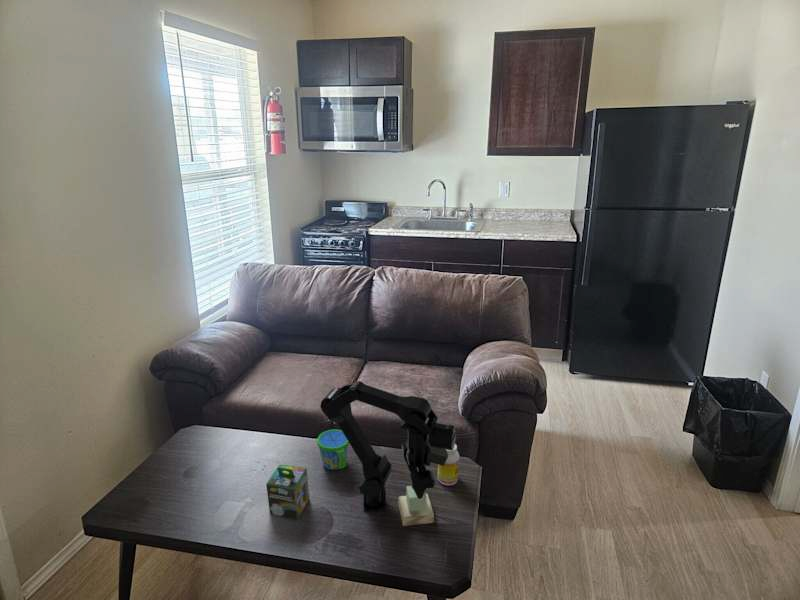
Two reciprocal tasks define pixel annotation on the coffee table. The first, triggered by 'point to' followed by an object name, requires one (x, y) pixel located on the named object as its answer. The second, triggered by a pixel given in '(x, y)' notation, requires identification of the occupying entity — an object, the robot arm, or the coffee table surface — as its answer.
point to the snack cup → (333, 449)
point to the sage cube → (414, 500)
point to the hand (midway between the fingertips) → (416, 487)
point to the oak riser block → (415, 513)
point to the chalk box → (288, 491)
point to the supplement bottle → (449, 468)
